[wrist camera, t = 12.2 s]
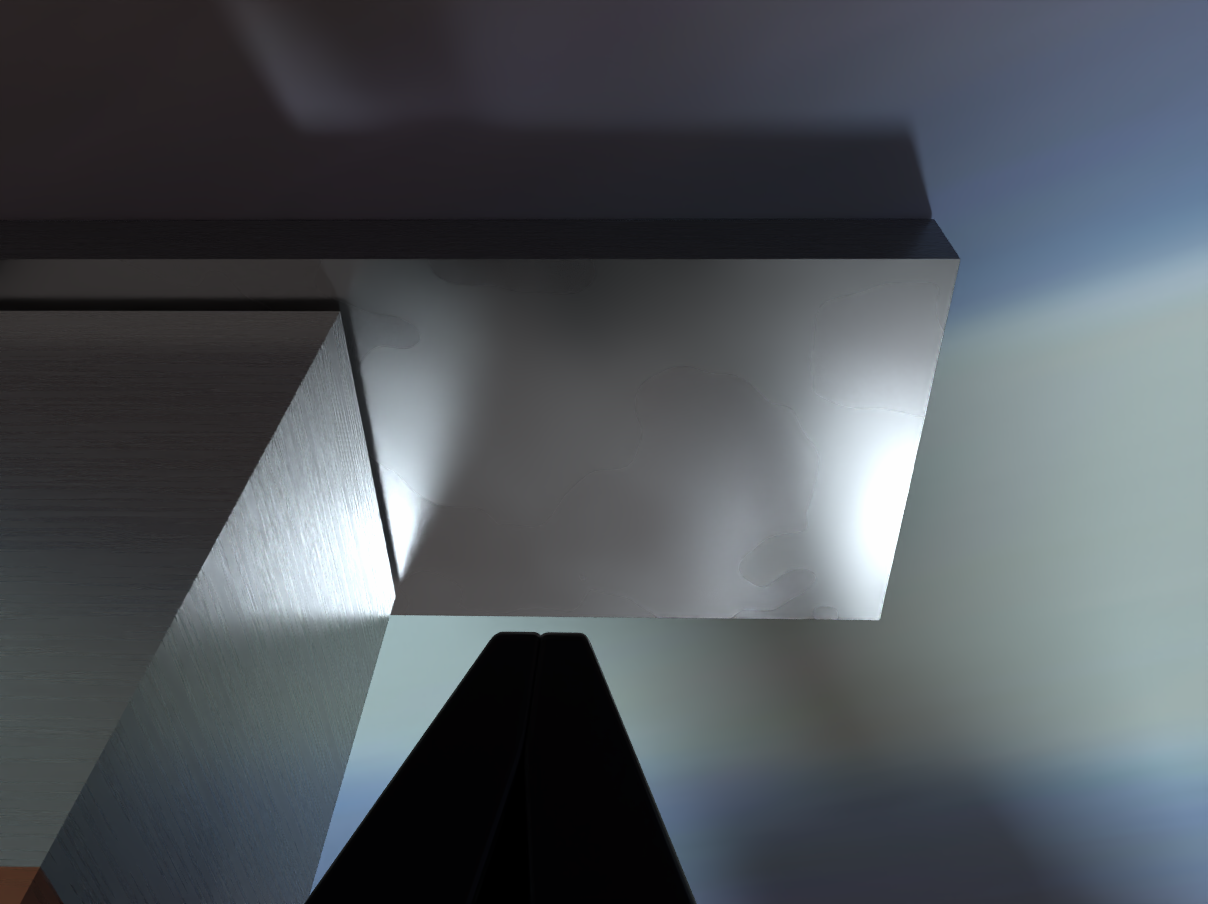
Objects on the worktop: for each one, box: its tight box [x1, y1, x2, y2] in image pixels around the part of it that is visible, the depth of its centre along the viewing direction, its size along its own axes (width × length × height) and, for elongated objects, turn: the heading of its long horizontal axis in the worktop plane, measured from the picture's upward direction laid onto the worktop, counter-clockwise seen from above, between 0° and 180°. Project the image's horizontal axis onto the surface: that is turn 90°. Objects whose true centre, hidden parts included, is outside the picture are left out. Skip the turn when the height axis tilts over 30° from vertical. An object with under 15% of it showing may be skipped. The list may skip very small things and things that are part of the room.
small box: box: [0, 311, 396, 904], centre depth 8 cm, size 4×4×7 cm
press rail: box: [0, 219, 960, 620], centre depth 10 cm, size 5×12×4 cm, turn 91°
